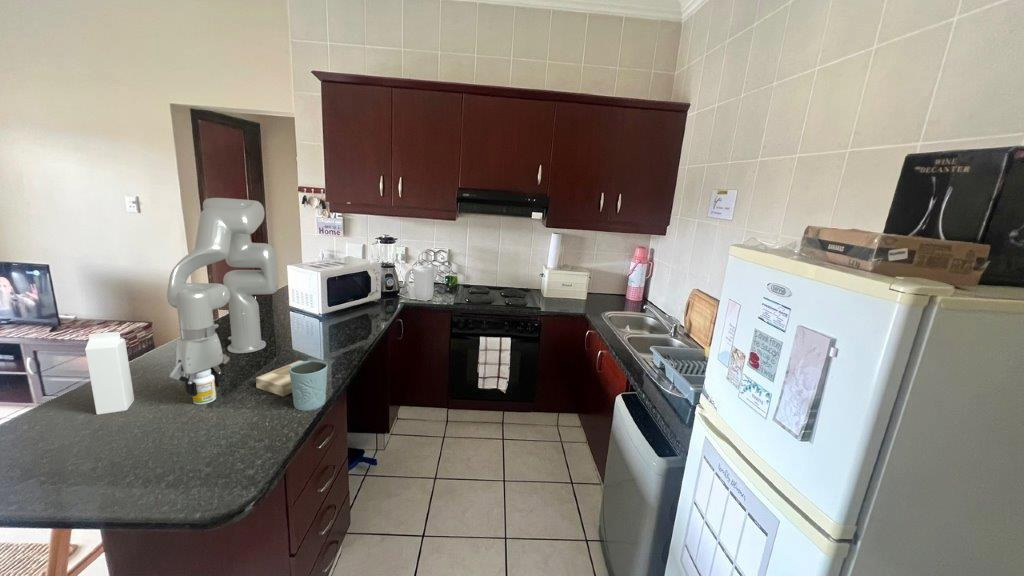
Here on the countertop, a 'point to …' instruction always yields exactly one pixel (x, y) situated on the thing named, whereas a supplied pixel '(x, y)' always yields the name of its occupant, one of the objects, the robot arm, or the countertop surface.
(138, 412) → the countertop surface
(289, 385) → the socket block
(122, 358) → the milk
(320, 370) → the embossed blue-green cup
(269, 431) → the countertop surface
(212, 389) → the supplement bottle
